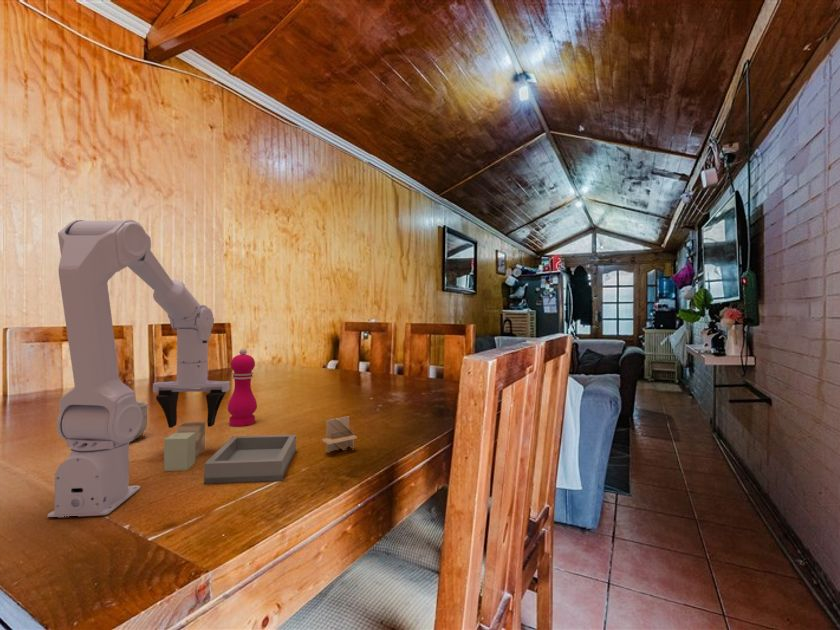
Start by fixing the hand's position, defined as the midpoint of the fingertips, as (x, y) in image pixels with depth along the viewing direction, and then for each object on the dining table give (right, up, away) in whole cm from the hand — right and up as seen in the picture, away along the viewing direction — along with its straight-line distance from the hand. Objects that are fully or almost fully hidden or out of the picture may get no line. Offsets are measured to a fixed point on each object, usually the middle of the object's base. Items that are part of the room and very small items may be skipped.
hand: (191, 425), depth 88 cm
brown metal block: (0, -6, 0) cm, 6 cm away
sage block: (+2, -6, -8) cm, 10 cm away
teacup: (-21, -6, +9) cm, 23 cm away
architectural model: (+31, -7, +2) cm, 32 cm away
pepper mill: (+1, -6, +23) cm, 24 cm away
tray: (+16, -6, -7) cm, 18 cm away
